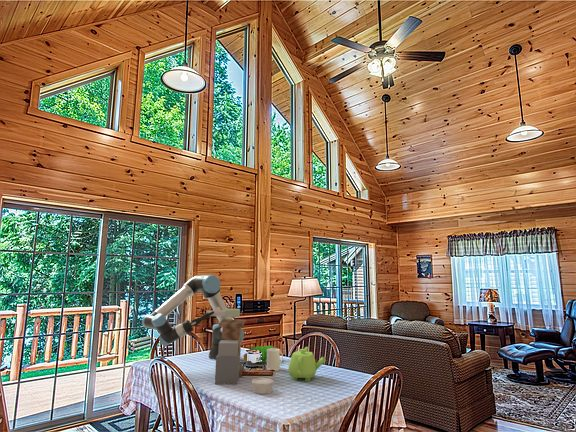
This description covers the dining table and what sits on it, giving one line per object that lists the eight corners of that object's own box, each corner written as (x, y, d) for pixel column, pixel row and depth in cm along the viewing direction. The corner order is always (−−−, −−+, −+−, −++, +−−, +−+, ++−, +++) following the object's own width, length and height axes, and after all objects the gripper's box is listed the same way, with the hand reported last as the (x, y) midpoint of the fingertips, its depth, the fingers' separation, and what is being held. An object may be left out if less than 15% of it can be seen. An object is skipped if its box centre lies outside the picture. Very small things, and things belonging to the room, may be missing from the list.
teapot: (323, 385, 204) (323, 354, 206) (285, 382, 208) (285, 352, 210) (328, 373, 228) (328, 346, 230) (293, 371, 232) (293, 344, 235)
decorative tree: (243, 344, 249) (276, 338, 270) (239, 360, 251) (272, 352, 272) (253, 354, 241) (286, 346, 262) (248, 370, 243) (282, 361, 264)
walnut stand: (216, 377, 215) (218, 323, 220) (220, 368, 235) (222, 319, 239) (241, 377, 216) (242, 323, 220) (243, 368, 235) (245, 319, 240)
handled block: (205, 316, 225) (205, 309, 226) (207, 315, 233) (207, 308, 234) (238, 316, 226) (238, 310, 227) (239, 315, 234) (239, 308, 235)
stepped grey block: (214, 384, 201) (216, 343, 204) (217, 378, 213) (219, 339, 216) (237, 384, 202) (238, 343, 205) (239, 378, 214) (240, 339, 217)
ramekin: (262, 387, 198) (262, 376, 199) (278, 391, 191) (278, 380, 192) (246, 391, 189) (247, 380, 190) (263, 396, 182) (263, 385, 183)
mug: (279, 366, 243) (279, 347, 245) (286, 369, 236) (287, 349, 238) (263, 368, 237) (264, 348, 238) (270, 371, 230) (271, 351, 231)
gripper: (190, 331, 235) (223, 312, 238) (184, 336, 219) (220, 315, 222) (184, 321, 236) (218, 302, 239) (178, 324, 220) (214, 304, 223)
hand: (219, 308), depth 230 cm, fingers closed on handled block, 3 cm apart
